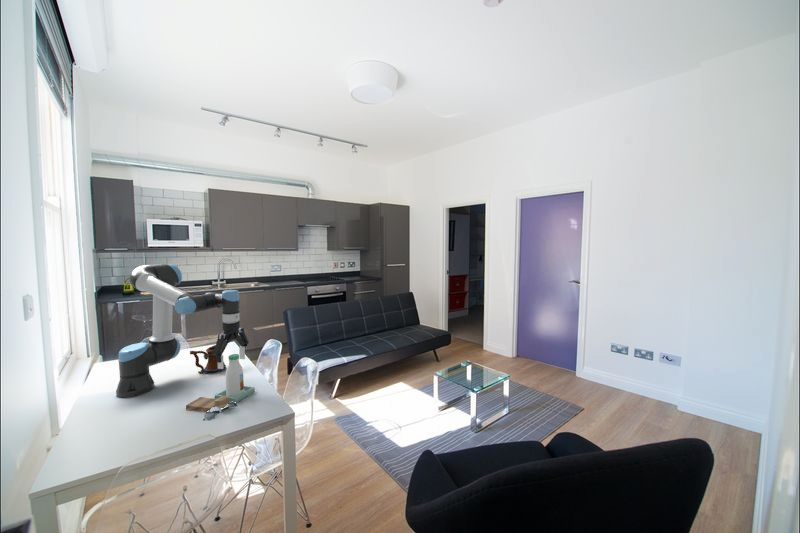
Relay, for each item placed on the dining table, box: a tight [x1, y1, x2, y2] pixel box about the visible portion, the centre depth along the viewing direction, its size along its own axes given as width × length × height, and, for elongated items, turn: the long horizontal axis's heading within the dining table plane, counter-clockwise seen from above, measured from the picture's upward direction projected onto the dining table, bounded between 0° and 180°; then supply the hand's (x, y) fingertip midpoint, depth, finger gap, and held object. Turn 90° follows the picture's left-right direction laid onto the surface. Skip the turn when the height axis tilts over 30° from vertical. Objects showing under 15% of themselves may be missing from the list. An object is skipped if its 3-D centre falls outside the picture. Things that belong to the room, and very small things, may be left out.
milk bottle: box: [225, 353, 245, 398], centre depth 156 cm, size 8×8×20 cm
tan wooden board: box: [185, 396, 216, 413], centre depth 146 cm, size 14×8×2 cm, turn 78°
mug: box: [189, 344, 227, 375], centre depth 187 cm, size 18×12×15 cm, turn 129°
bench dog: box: [214, 396, 230, 408], centre depth 144 cm, size 3×5×5 cm, turn 164°
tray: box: [214, 385, 256, 404], centre depth 156 cm, size 12×12×2 cm
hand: (231, 363), depth 157 cm, fingers open, 13 cm apart
